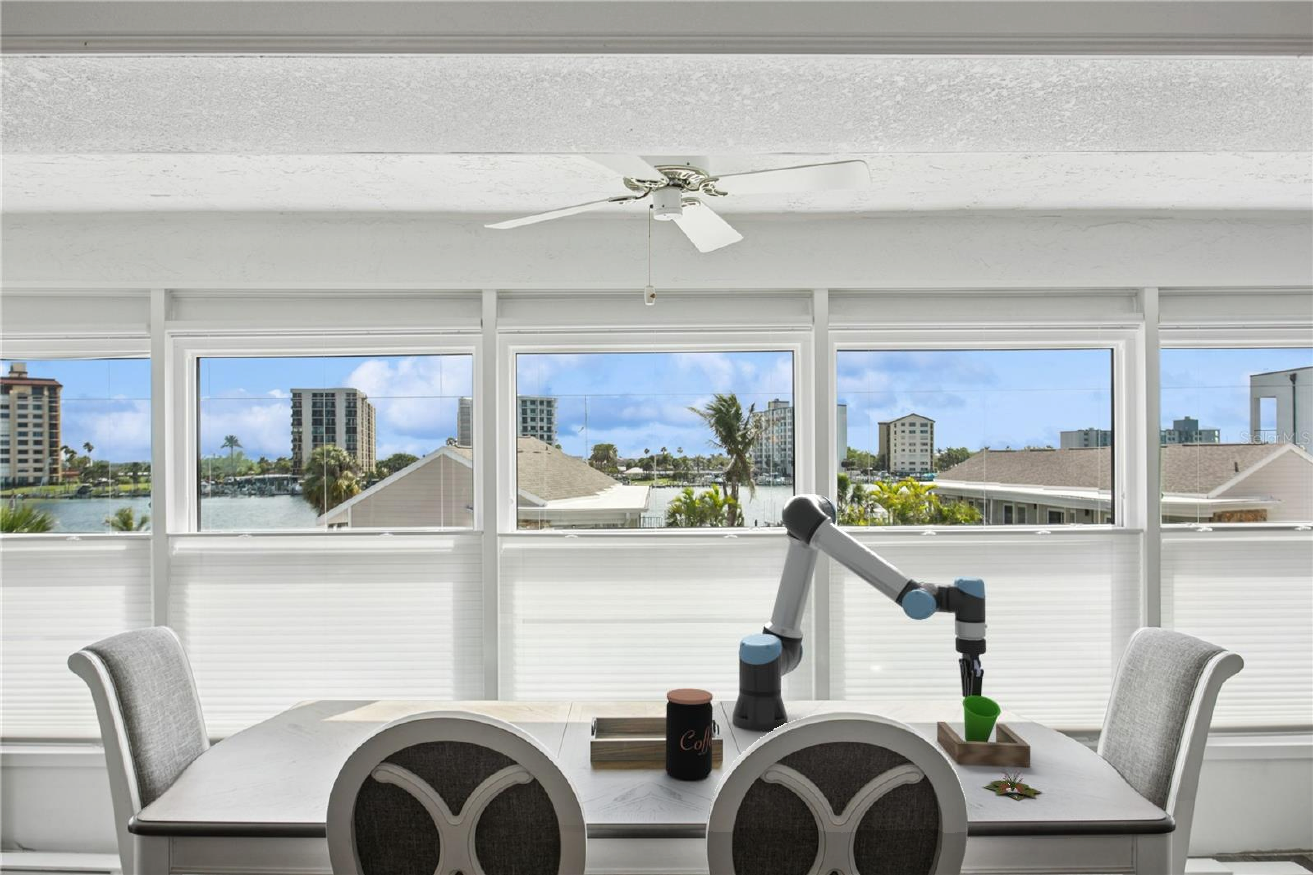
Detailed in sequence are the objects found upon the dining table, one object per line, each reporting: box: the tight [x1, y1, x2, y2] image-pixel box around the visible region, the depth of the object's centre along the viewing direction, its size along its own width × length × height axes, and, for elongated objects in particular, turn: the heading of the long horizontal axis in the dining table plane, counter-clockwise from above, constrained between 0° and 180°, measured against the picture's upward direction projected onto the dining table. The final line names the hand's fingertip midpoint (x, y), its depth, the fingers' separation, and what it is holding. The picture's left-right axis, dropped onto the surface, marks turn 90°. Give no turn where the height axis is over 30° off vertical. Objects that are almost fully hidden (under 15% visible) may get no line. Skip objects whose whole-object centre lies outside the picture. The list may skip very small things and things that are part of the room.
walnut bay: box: [936, 721, 1031, 768], centre depth 208 cm, size 17×18×5 cm
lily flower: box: [983, 768, 1042, 801], centre depth 183 cm, size 12×12×5 cm
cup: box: [962, 695, 1001, 742], centre depth 211 cm, size 9×9×11 cm
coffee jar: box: [665, 688, 714, 782], centre depth 191 cm, size 11×11×18 cm
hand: (972, 727), depth 218 cm, fingers closed
